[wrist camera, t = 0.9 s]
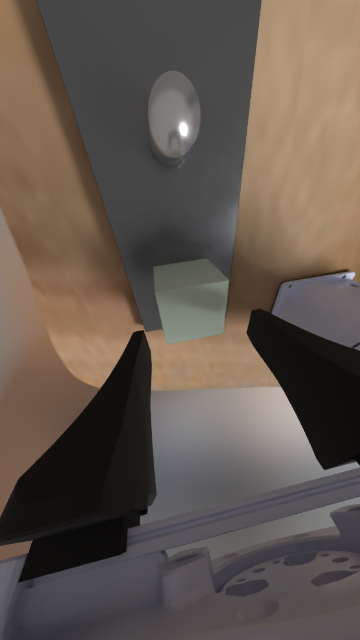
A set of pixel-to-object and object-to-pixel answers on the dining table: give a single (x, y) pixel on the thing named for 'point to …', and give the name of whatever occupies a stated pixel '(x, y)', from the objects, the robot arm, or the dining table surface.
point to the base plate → (120, 115)
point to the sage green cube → (190, 299)
